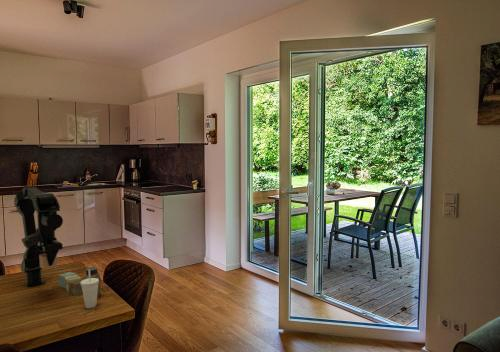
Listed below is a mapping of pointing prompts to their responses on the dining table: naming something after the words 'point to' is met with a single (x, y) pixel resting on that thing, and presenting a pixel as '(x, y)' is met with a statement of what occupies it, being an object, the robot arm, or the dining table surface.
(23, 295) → the dining table surface
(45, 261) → the terracotta block
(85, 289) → the smoothie
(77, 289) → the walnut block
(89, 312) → the dining table surface
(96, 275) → the supplement bottle
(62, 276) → the slate block
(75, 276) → the maple block
